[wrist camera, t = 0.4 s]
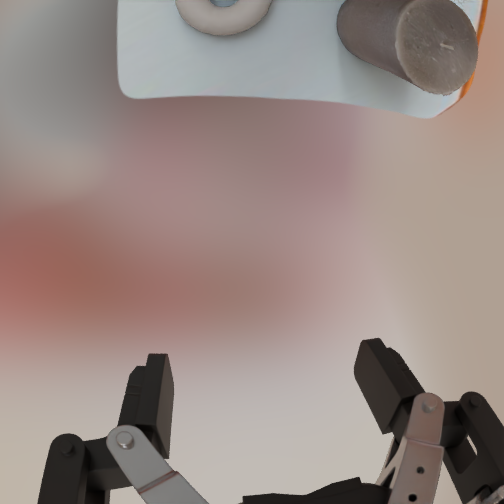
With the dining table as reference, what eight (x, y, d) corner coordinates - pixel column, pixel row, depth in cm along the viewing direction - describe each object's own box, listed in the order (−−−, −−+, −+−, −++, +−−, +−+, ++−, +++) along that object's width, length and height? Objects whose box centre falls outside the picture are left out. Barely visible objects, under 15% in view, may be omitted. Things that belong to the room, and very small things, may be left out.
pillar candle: (389, -16, 23) (473, -11, 13) (415, 51, 30) (494, 86, 19) (321, 4, 26) (386, 6, 15) (353, 73, 32) (421, 114, 21)
